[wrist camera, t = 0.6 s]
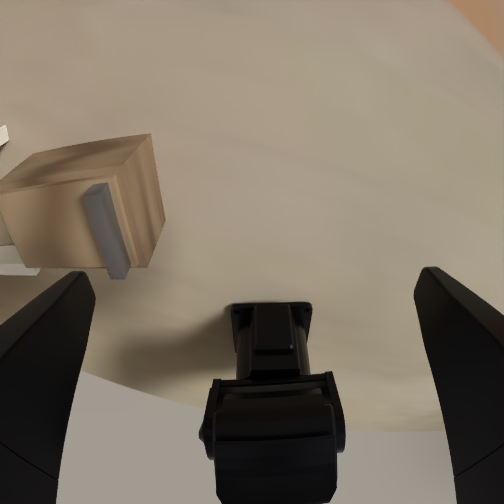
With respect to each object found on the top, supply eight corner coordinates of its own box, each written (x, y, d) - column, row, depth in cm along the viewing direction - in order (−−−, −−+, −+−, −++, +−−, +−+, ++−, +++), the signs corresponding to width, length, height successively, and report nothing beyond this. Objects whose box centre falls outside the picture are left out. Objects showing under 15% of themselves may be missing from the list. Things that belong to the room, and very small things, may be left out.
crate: (151, 132, 17) (108, 180, 12) (166, 218, 21) (140, 288, 16) (34, 152, 17) (-24, 201, 12) (57, 225, 21) (15, 284, 16)
